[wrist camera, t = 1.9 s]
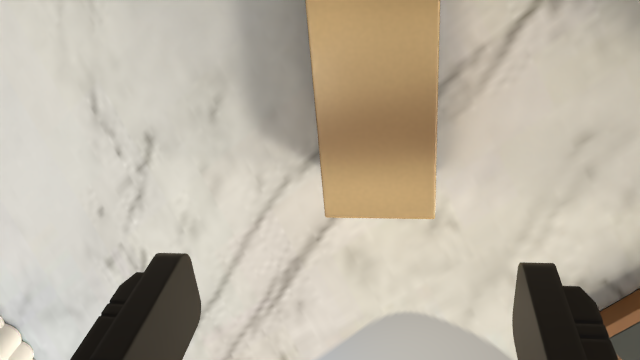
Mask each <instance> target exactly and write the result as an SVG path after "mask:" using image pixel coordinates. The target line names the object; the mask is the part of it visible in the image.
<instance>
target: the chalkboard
mask: <svg viewBox="0 0 640 360" xmlns="http://www.w3.org/2000/svg"><path fill="white" fill-rule="evenodd" d="M600 314H601V317H602V319H603V325H605V327H606V330H607V332H608V335H609V340H611V342H612V345H613V347H614V350H615V352H616V355H617V357H618V360H640V289H639V290H637V291H635V292H634V293H632V294H630V295H628V296H627V297H625V298H623V299H622V300H620V301H618V302H616V303H615V304H613V305H611V306H609V307H608V308H606V309H604V310H602V311H601V312H600Z"/></svg>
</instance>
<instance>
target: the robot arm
mask: <svg viewBox="0 0 640 360" xmlns="http://www.w3.org/2000/svg"><path fill="white" fill-rule="evenodd" d="M101 314H102V315H101V316H99V317H98V319H97V320H96V322H95V323H94V325H93V326H92V328H91V329H90V331H89V332H88V334H87V335H86V337H85V338H84V340H83V341H82V343H81V344H80V346H79V347H78V349H77V350H76V352H75V353H74V355H73V356H72V358H71V359H70V360H182V359H183V357H184V355H185V352H186V350H187V348H188V346H189V344H190V341H191V339H192V337H193V335H194V332H195V330H196V328H197V326H198V323H199V320H200V315H201V300H200V296H199V291H198V287H197V283H196V279H195V275H194V271H193V266H192V262H191V259H190V257H189V255H188V254H179V253H158V254H156V255H155V256H154V258H153V259H152V261H151V262H150V264H149V265H148V267H147V269H146V270H145V272H144V273H141V272H136V273H135V274H134V275H133V276H131V277H130V278H129V279H128V280H126V281H125V282H124V283H123V284H121V285H120V286H119V288H118V289H117V291H116V292H115V294H114V295H113V297H112V298H111V300H110V303H109V304H107V306H106V307H105V309H104V310H103V312H102V313H101ZM512 321H513V336H514V342H515V347H516V352H517V357H518V360H618V357H617V355H616V352H615V350H614V347H613V345H612V342H611V340H609V335H608V332H607V330H606V327H605V325H603V319H602V317H601V314H600V312H599V309H598V307H597V304H596V303H595V302H594V301H593V300H592V299H591V298H590V297H589V296H588V295H587V294H586V293H585V292H584V291H583V290H582V289H581V288H580V287H576V286H562V283H561V280H560V277H559V275H558V272H557V269H556V266H555V264H553V263H519V266H518V272H517V280H516V289H515V298H514V306H513V320H512Z"/></svg>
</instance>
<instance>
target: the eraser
mask: <svg viewBox="0 0 640 360" xmlns="http://www.w3.org/2000/svg"><path fill="white" fill-rule="evenodd" d="M305 3H306V13H307V24H308V35H309V46H310V57H311V68H312V79H313V89H314V100H315V111H316V122H317V133H318V144H319V155H320V166H321V176H322V187H323V198H324V209H325V216H326V217H333V218H402V219H434V218H435V199H436V155H437V112H438V69H439V25H440V0H305Z"/></svg>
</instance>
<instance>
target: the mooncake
mask: <svg viewBox="0 0 640 360" xmlns="http://www.w3.org/2000/svg"><path fill="white" fill-rule="evenodd" d="M33 356H34V352H33V350H32V348H31V347H30V346H29V345H28V344H27V343H25V342H23V341H22V337H21V334H20V332H19V331H18V330H17V329H16V328H14V327H13V326H11V325H8V324H5V323H4V320H3V319H2V317H1V316H0V360H34V359H33Z"/></svg>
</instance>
